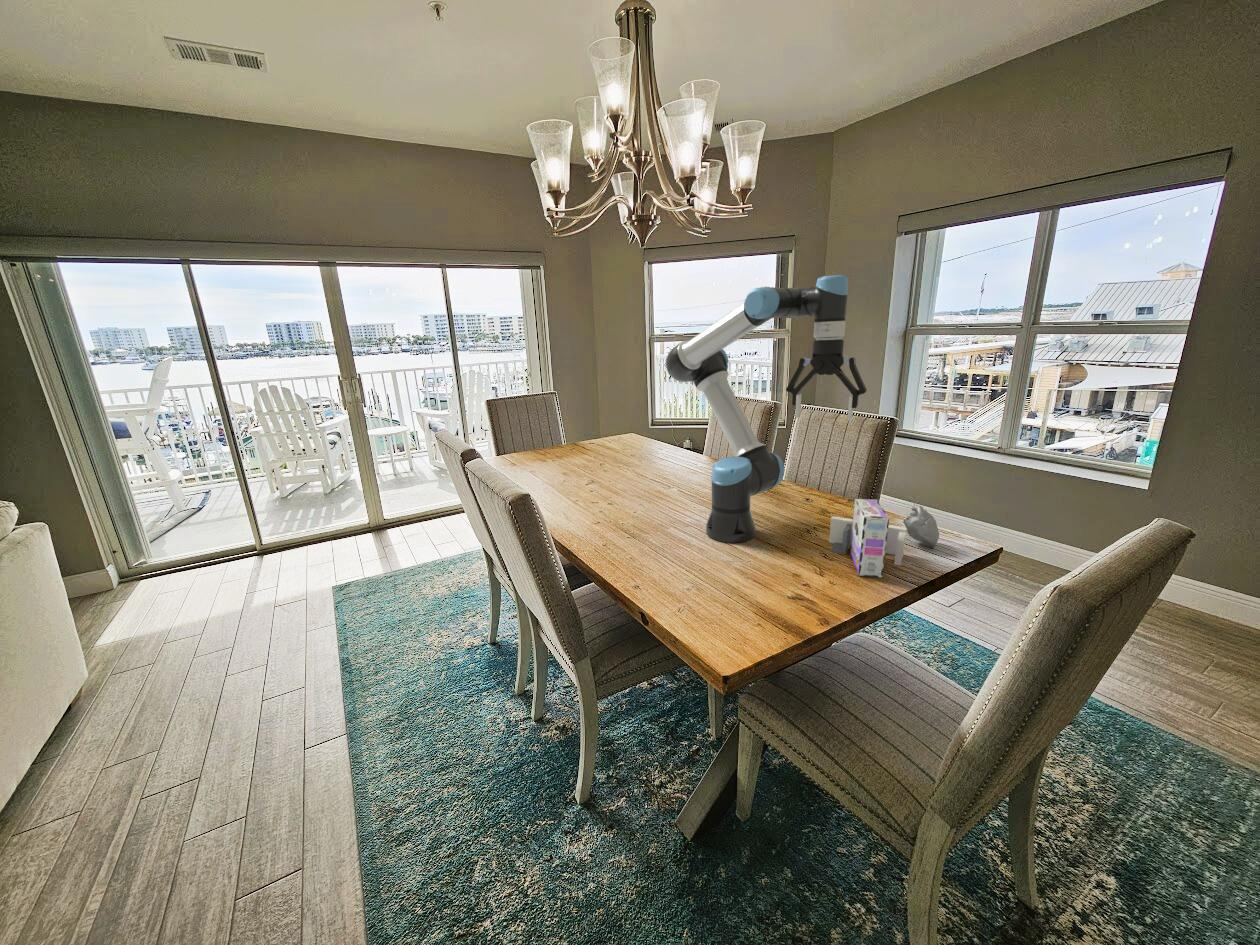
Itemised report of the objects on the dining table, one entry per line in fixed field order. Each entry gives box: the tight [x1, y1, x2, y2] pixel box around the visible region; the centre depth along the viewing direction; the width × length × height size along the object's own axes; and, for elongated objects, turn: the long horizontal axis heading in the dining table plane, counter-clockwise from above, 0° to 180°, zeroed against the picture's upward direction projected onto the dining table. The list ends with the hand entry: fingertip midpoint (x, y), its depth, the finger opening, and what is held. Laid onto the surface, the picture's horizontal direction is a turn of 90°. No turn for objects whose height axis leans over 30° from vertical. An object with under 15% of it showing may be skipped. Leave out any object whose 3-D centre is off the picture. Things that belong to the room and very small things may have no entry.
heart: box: [902, 504, 940, 548], centre depth 134 cm, size 10×10×12 cm
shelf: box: [828, 516, 907, 566], centre depth 133 cm, size 19×8×8 cm, turn 57°
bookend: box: [829, 523, 851, 555], centre depth 135 cm, size 4×6×7 cm, turn 147°
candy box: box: [849, 498, 890, 578], centre depth 125 cm, size 14×6×16 cm, turn 165°
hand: (822, 418), depth 132 cm, fingers open, 13 cm apart
